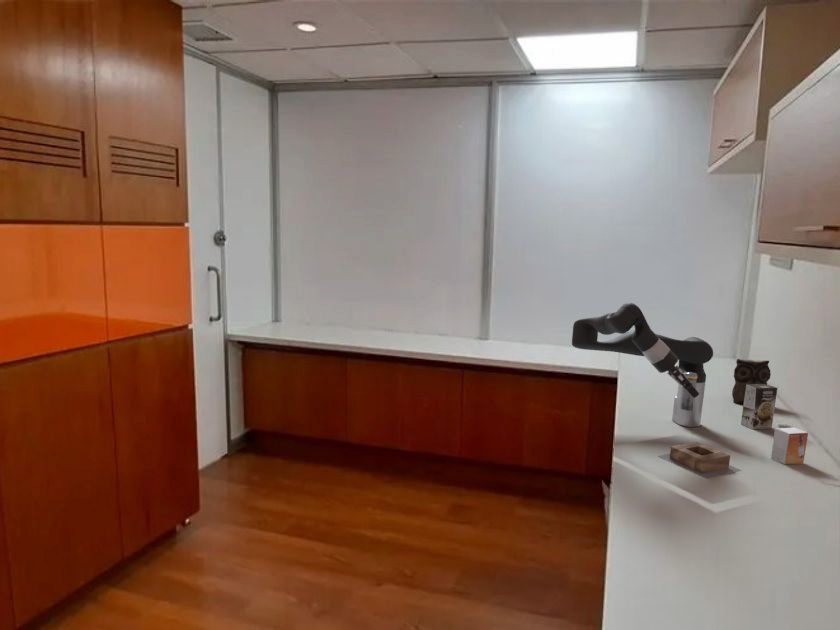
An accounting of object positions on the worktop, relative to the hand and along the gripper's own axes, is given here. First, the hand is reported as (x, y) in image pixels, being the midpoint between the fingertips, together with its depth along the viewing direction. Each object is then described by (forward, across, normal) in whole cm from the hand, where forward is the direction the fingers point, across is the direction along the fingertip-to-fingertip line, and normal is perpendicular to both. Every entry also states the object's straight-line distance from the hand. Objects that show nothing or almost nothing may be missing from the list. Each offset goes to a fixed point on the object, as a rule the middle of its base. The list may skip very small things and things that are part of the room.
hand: (694, 393), depth 197 cm
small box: (+37, -2, +7) cm, 38 cm away
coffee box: (+39, -38, +10) cm, 56 cm away
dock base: (+14, +12, -15) cm, 24 cm away
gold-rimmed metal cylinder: (+2, 0, -5) cm, 6 cm away
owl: (+46, -73, +16) cm, 88 cm away
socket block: (+13, +12, -14) cm, 23 cm away
